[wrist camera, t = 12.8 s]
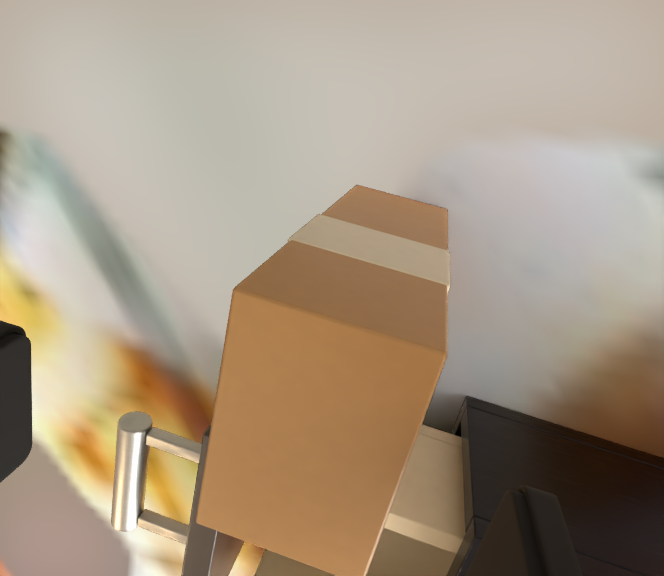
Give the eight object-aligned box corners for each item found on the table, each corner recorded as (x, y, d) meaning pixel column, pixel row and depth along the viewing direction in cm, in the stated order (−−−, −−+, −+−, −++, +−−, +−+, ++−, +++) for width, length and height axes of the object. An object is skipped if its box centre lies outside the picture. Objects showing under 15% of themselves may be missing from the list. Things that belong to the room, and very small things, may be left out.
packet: (324, 309, 23) (191, 524, 11) (355, 182, 21) (229, 284, 9) (408, 335, 23) (363, 589, 11) (450, 208, 20) (452, 353, 8)
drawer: (154, 496, 29) (78, 597, 23) (174, 323, 24) (86, 393, 18) (463, 611, 26) (468, 756, 20) (548, 444, 22) (585, 568, 16)
